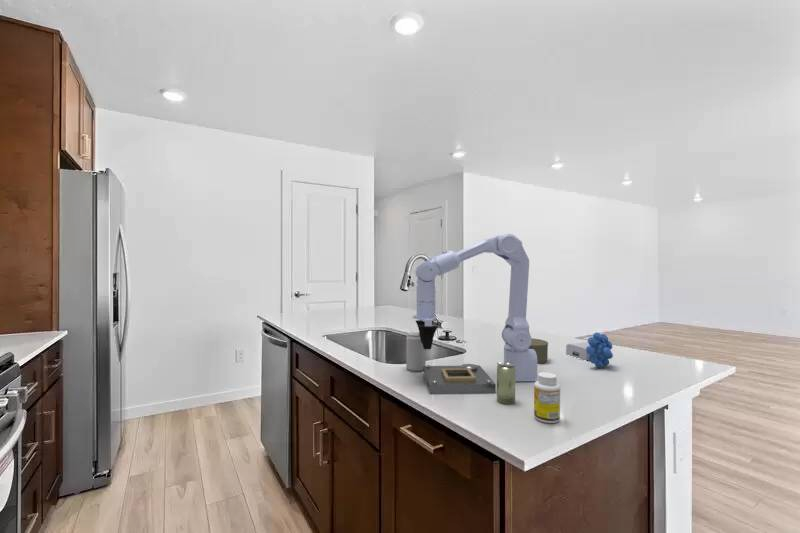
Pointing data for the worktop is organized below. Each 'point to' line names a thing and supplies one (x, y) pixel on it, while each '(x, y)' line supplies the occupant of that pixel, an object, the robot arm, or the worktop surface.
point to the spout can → (506, 383)
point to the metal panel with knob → (458, 379)
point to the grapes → (599, 350)
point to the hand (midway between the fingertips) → (425, 346)
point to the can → (540, 350)
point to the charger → (578, 350)
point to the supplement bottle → (547, 398)
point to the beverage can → (415, 352)
